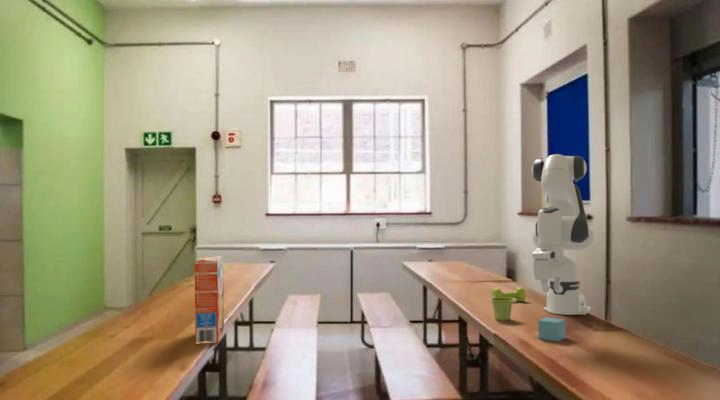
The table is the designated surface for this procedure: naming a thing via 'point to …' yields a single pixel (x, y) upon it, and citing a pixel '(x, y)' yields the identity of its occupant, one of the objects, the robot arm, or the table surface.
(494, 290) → the dumbbell
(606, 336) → the table surface
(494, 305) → the plant pot
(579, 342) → the table surface
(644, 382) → the table surface
